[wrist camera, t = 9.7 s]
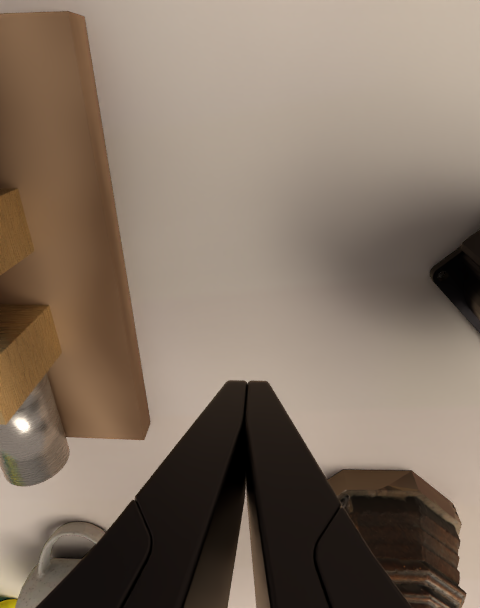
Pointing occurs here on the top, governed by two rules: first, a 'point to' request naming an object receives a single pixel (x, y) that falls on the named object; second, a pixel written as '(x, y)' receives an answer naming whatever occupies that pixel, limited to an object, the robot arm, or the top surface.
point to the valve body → (26, 368)
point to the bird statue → (406, 532)
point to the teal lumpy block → (8, 603)
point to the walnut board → (69, 223)
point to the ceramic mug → (54, 565)
